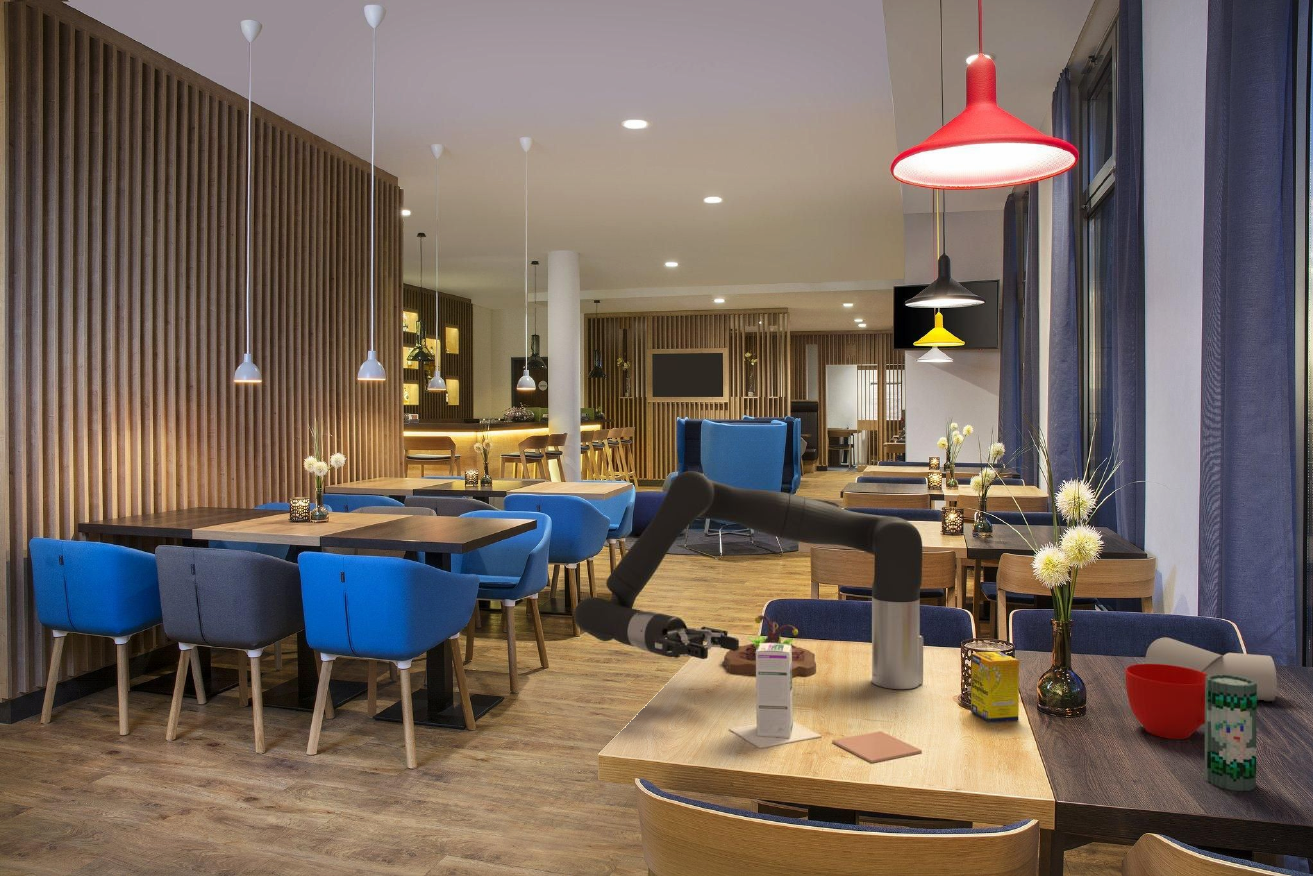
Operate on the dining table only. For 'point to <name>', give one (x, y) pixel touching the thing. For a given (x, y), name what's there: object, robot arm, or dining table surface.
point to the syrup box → (774, 690)
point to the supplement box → (995, 686)
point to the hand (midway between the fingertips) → (722, 649)
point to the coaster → (876, 746)
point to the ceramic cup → (1167, 698)
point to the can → (1230, 731)
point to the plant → (746, 655)
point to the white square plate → (761, 741)
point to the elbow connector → (1217, 663)
